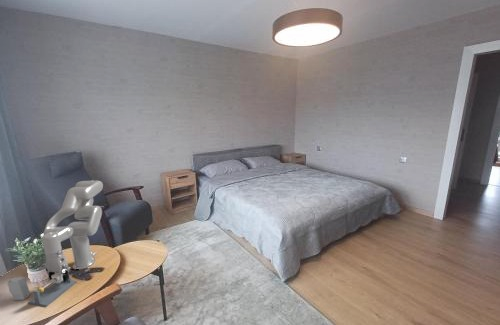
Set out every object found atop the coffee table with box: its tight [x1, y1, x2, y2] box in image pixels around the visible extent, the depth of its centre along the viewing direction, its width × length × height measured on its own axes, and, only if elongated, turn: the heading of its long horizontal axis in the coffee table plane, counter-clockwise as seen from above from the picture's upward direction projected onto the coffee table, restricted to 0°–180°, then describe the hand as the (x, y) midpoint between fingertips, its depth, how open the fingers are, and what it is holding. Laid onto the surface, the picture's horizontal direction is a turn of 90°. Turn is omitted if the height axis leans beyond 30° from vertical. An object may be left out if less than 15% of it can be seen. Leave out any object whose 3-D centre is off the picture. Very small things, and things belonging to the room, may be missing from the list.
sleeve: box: [51, 271, 66, 284], centre depth 133 cm, size 5×4×4 cm
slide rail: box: [27, 270, 78, 307], centre depth 130 cm, size 18×12×8 cm, turn 171°
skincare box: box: [6, 276, 31, 301], centre depth 126 cm, size 6×4×12 cm
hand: (59, 279), depth 133 cm, fingers open, 9 cm apart
